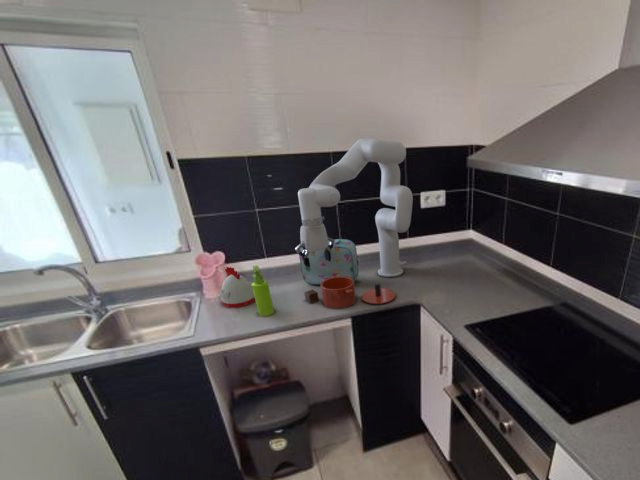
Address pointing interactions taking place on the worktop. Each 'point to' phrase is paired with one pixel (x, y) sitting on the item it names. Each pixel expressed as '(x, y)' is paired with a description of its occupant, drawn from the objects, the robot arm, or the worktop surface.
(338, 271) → the lunch box
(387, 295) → the lid
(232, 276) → the kitchen timer
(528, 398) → the worktop surface
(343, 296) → the pot
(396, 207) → the robot arm
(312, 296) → the block
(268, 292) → the soap dispenser
